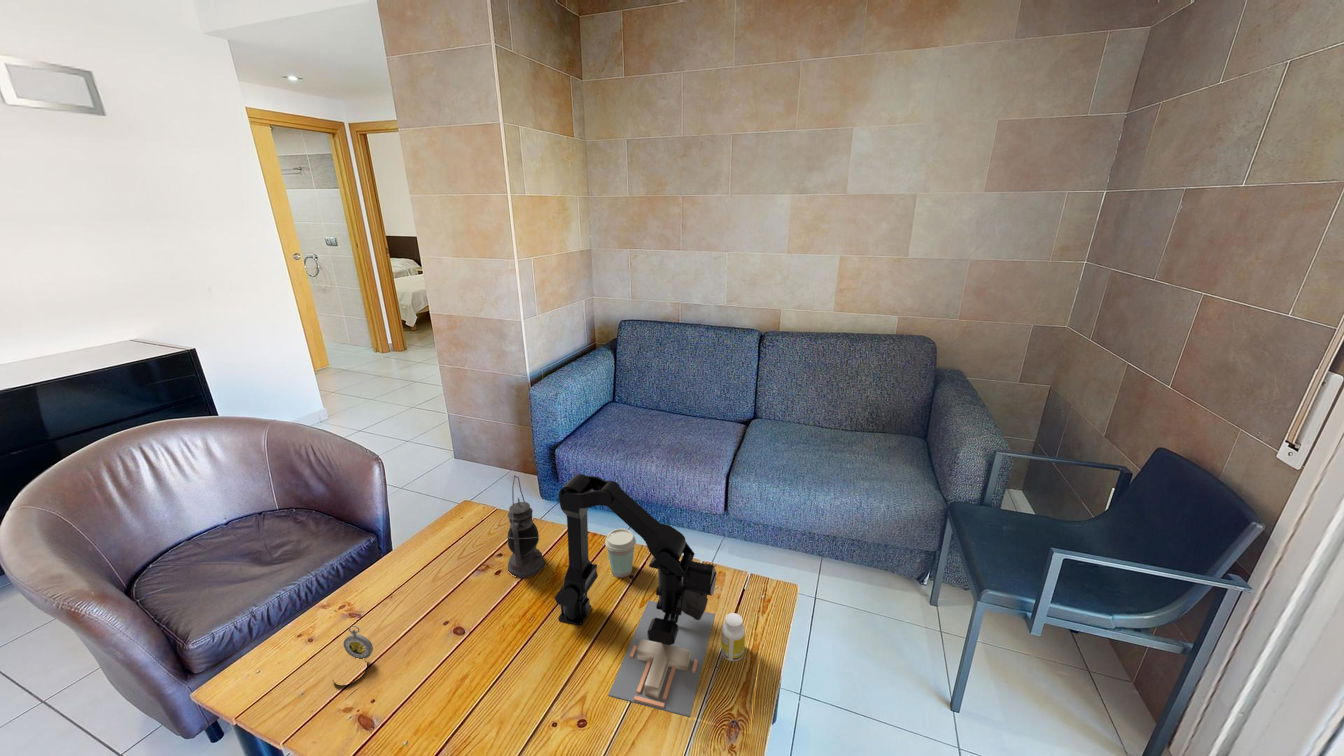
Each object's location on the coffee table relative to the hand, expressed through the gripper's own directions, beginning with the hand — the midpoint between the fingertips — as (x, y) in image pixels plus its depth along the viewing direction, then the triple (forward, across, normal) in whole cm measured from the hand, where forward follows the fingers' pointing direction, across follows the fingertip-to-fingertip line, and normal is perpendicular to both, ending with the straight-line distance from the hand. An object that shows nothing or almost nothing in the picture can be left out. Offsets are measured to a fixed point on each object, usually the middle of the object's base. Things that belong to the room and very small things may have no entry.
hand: (671, 634), depth 119 cm
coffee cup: (+2, +19, +20) cm, 28 cm away
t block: (+1, -11, 0) cm, 11 cm away
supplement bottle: (+2, 0, -15) cm, 15 cm away
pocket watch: (+1, -26, +67) cm, 72 cm away
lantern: (+2, +14, +48) cm, 50 cm away
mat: (+1, -4, 0) cm, 4 cm away
